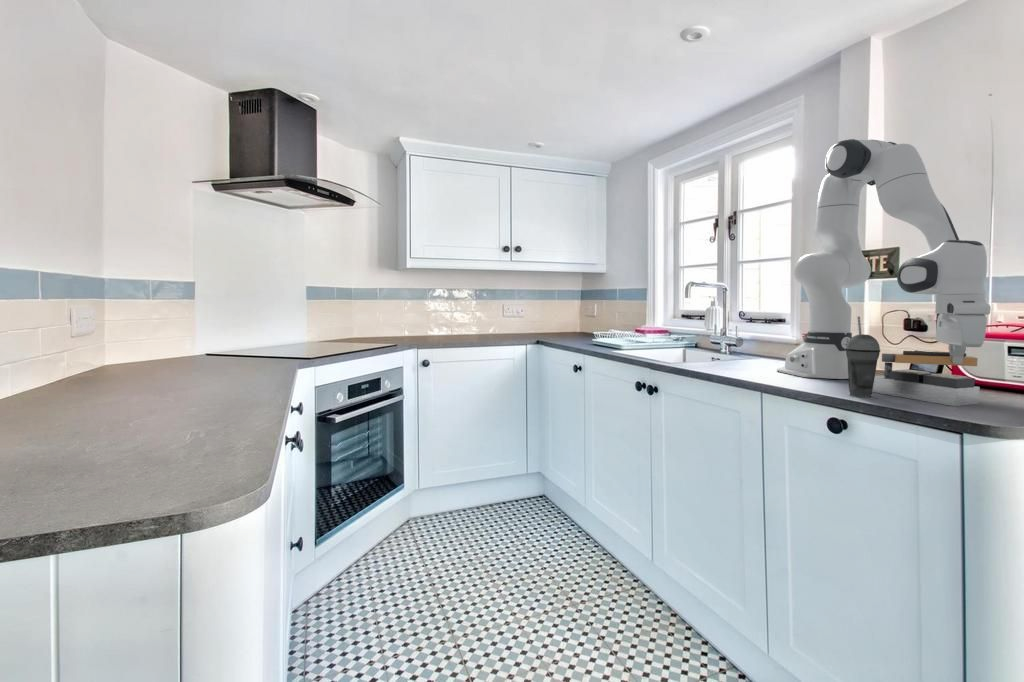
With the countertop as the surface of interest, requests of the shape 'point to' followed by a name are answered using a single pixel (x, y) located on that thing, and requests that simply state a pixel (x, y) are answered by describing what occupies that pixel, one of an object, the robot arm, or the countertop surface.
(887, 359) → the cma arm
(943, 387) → the stacked block stand
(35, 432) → the countertop surface
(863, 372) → the beverage cup
